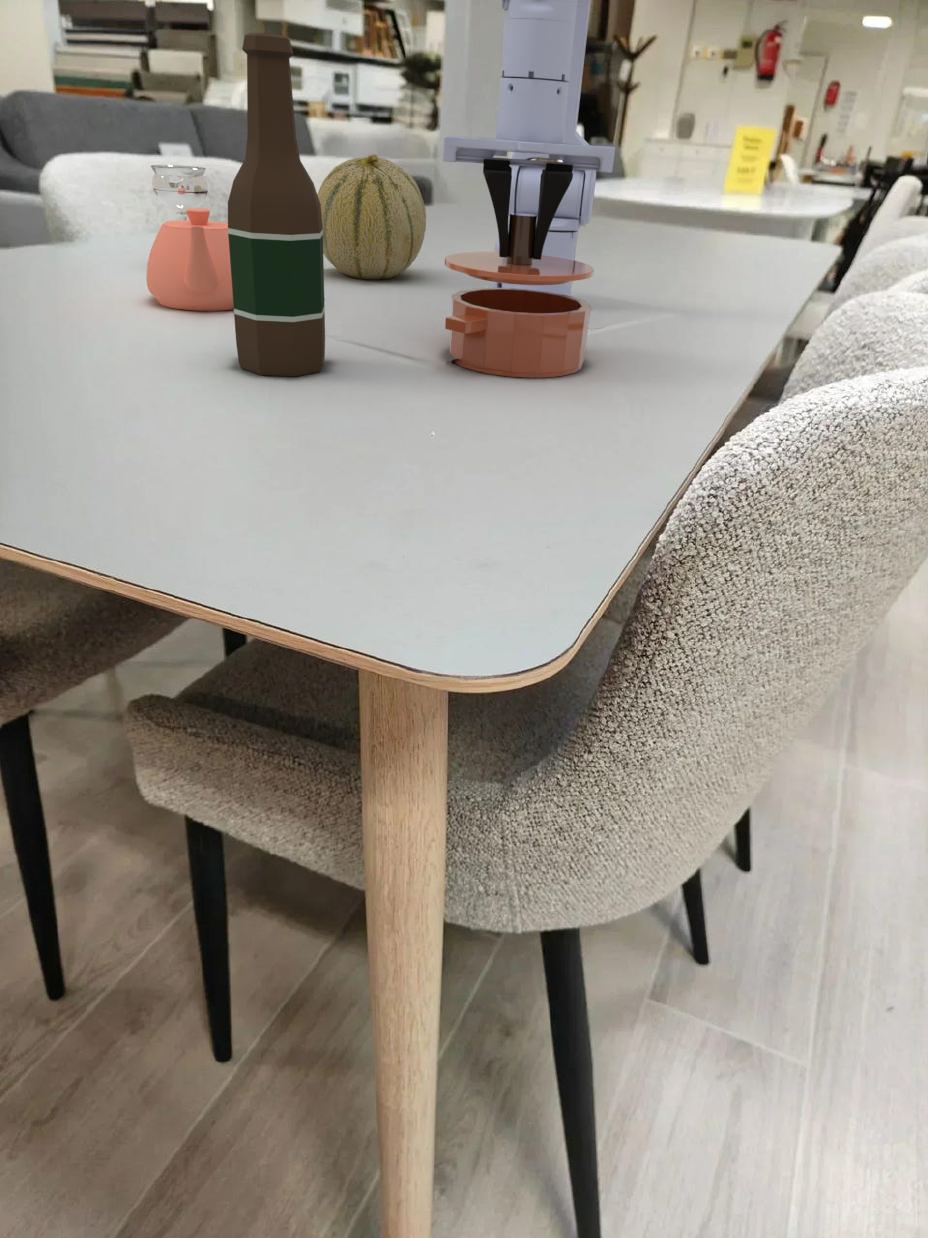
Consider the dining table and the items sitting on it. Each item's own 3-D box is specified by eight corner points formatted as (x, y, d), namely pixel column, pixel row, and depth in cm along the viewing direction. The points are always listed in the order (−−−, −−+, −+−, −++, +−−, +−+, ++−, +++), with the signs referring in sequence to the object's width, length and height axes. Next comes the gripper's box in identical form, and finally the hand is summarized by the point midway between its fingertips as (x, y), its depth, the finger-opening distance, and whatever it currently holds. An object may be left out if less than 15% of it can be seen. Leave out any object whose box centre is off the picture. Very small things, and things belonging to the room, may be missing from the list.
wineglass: (151, 270, 111) (139, 166, 105) (175, 263, 117) (165, 163, 111) (201, 274, 111) (192, 170, 105) (222, 267, 117) (215, 167, 110)
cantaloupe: (394, 269, 124) (396, 151, 116) (444, 287, 113) (450, 159, 105) (297, 271, 117) (292, 146, 109) (340, 292, 106) (338, 154, 99)
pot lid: (413, 270, 78) (415, 207, 75) (506, 260, 87) (511, 204, 84) (532, 294, 70) (538, 226, 68) (620, 280, 80) (629, 220, 77)
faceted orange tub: (401, 360, 79) (403, 298, 76) (521, 335, 91) (526, 281, 88) (508, 391, 72) (514, 324, 69) (622, 359, 84) (631, 302, 82)
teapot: (259, 289, 105) (254, 203, 100) (263, 321, 90) (257, 221, 85) (155, 286, 102) (144, 198, 97) (140, 319, 87) (127, 216, 82)
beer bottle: (343, 362, 77) (339, 41, 65) (301, 382, 71) (288, 30, 59) (266, 350, 79) (248, 37, 67) (219, 369, 73) (190, 26, 61)
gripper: (445, 72, 68) (437, 257, 74) (628, 84, 68) (604, 268, 75) (448, 75, 74) (441, 247, 80) (616, 87, 74) (595, 257, 81)
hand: (519, 256), depth 78 cm, fingers closed on pot lid, 2 cm apart
